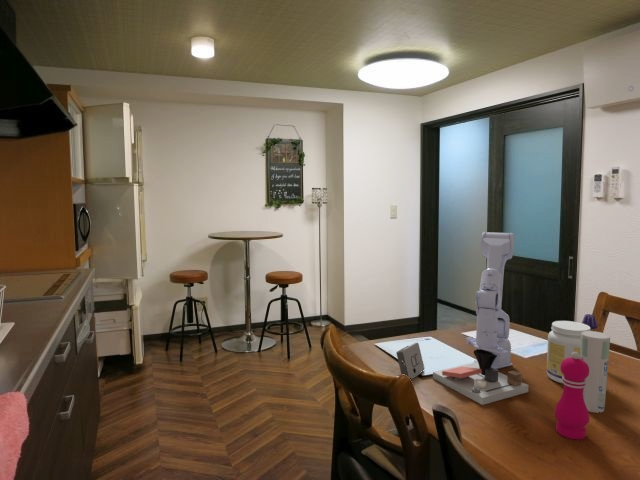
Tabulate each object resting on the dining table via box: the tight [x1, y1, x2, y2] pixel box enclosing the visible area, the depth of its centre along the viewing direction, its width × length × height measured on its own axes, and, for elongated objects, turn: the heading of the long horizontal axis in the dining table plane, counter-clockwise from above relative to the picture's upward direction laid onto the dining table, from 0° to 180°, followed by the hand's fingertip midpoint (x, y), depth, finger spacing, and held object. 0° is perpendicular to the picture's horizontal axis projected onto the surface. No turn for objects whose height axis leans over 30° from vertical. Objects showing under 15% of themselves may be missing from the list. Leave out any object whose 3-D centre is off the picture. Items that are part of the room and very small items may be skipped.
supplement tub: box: [545, 320, 590, 384], centre depth 141 cm, size 12×12×17 cm
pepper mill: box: [554, 352, 590, 440], centre depth 109 cm, size 7×7×20 cm
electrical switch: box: [396, 342, 425, 380], centre depth 146 cm, size 9×5×9 cm, turn 141°
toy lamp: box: [581, 313, 598, 331], centre depth 153 cm, size 5×5×17 cm
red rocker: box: [442, 367, 482, 378], centre depth 137 cm, size 8×8×1 cm
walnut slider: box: [506, 370, 522, 386], centre depth 133 cm, size 2×3×3 cm
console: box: [432, 362, 529, 406], centre depth 137 cm, size 18×20×6 cm
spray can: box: [580, 331, 611, 414], centre depth 122 cm, size 6×6×20 cm
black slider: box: [485, 368, 499, 383], centre depth 135 cm, size 3×2×3 cm
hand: (484, 374), depth 138 cm, fingers closed
